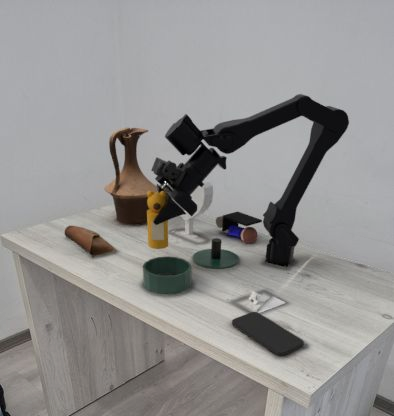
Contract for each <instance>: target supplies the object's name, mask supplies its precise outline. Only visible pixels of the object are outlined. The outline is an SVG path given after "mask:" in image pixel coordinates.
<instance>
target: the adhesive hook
mask: <svg viewBox="0 0 394 416" xmlns="http://www.w3.org/2000/svg"><path fill="white" fill-rule="evenodd" d="M249 295H250V296H249V297H248V301H250V302H251V301H253V302H252V304H253V305H257V304H258V303H259V302H260V300H261V299H260V298H261V297H262V295H261V294H259V293H258V292H256V291H254V290H251V293H250V294H249ZM284 304H286V302H285V301H283V300H282V299H280V298H277V297H276V296H275V295H273V294H272V295H271V296H269V298H267V299H266V300H265V301H264V302H263V303H262V305H260V306H259V307H258V308H257V309H256V312H257V313H259V314H261V313H264V312H265V311H268V310H271V309H274V308H277V307H279V306H281V305H284Z"/></svg>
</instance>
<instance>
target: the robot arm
mask: <svg viewBox="0 0 394 416" xmlns="http://www.w3.org/2000/svg"><path fill="white" fill-rule="evenodd" d="M300 117H303V118H305V119H307V120H309V121H310V122H313V123H312V125H311V129H310V135H309V142H308V144H307V146H306V149H305V150H304V153H303V154H302V156H301V158H300V160H299V162H298V164H297V165H296V168H295V170H294V172H293V174H292V176H291V178H290V179H289V182H288V183H287V186H286V187H285V189H284V191H283V193H282V195H281V197H280V198H279V200H277V201H276V202H275V203H274V202H273V201H269V203H268V206H267V209H266V211H265V212H264V213H263V214H262V217H263V219H262V224H263V227H264V229H265V230H266V231H267V233H268V235H269V236H270V237H271V238H269V240H268V243H267V244H266V252H265V260H264V263H266V264H270V265H274V266H278V267H281V268H288V267H289V266H290V265H291V264H292V263H293V262H294V261H295V260H296V259H295V258H294V253H295V247H296V246H297V244H298V243H299V240H300V238H299V237H298V236H297V234H296V233H294V232H293V227H294V224H295V221H296V215H297V208H298V206H299V203H300V202H301V200H302V198H303V196H305V195H304V194H305V193H306V192H307V189H308V187H309V185H310V184H311V182H312V180H313V178H314V176H315V174H316V172H317V170H318V169H319V167H320V165H321V163H322V162H323V159H324V157H325V155H326V153H327V152H329V150H330V149H332V148H333V147H334V146H335V145H336V144H337V143H338V142H339V141H340V139H341V138H342V137H343V136H344V134H345V133H346V131H347V129H348V127H349V125H350V120H349V115H348V113H347V112H346V111H345V110H344V109H340V108H337V107H335V106H331V105H323V104H321V103H320V102H318V101H316V100H314V99H312V98H311V97H310V96H309V95H306V94H302V93H299V94H296V95H295V96H293V97H291V98H289V99H287V100H285V101H283V102H280V103H278V104H276V105H273V106H271V107H269V108H266V109H264V110H261V111H259V112H258V113H255V114H253V115H251V116H248V117H244V118H236V119H231V120H226V121H223V122H219V123H217V124H216V125H215V126H214V127H212V128H207V129H202V130H201V129H199V128H198V126H197V125H196V124H195V123H194V122H193V120H192V118H191V117H190V116H189V115H188V114H187V113H185V114H184V115H183V116H182V117H181V118H179V119H178V120H177V121H176V122H174V123H173V124H172V125H171V126H170V127H169V128H168V129H167V131H166V133H165V135H164V138H165V139H166V140H167V141H168V142H169V143H170V144H171V145H172V146H173V148H174V149H175V150H176V151H178V153H179V154H181V156H185V155H187V156H190V157H189V158H188V160H187V161H186V162H185V163H184V162H180V163H179V164H178V165H177V163H175V162H173V161H171V160H167V161H166V160H164V159H162V158H160V157H155V160H154V162H153V165H152V168H151V170H150V171H151V172H153V174H154V175H156V177H155V178H154V179H155V181H156V182H157V183H156V186H157V190H158V191H157V192H158V193H160V192H161V191H165V192H166V197H165V198H166V202H165V204H164V206H163V207H162V209H161V210H160V212H159V213H158V215H157V216H156V218H155V219H154V221H153V223H154V224H155V225H158V224H160V223H162V222H165V221H167V220H168V221H170V220H172V219H174V218H177V217H179V216H180V217H181V215H183V214H184V215H185V214H186V213H185V211H186V212H187V213H188V214H189V215H190V216H191V217H192V216H193V215H194V214H195V213H196V211H197V204H196V203H195V202H194V201H193V200H192V199H191V198H192V197H191V196H190V195H191V194H192V193H193V192H194V191H195V189H196V188H197V187H198V186H200V187H202V186H203V185H204V183H203V180H204V179H205V178H206V179H207V177H208V176H209V175H210V173H212V171H213V170H214V169H215V168H216V167H217V166H218V167H219V168H221V169H223V170H227V156H225V155H220V153H222V154H226V155H229V154H232V153H235V152H236V151H237V150H240V149H241V148H243V147H244V146H245V145H246V144H247V143H248V142H250V141H251V140H252V139H253V138H255V137H257V136H258V135H261V134H263V133H265V132H268V131H270V130H272V129H274V128H275V129H276V128H278V127H280V126H282V125H284V124H287V123H288V122H292V121H293V120H295V119H298V118H300ZM203 141H204V142H205V143H206V144H207V146H210V147H209V148H208V147H207V146H206V145H205V144H204V142H203ZM215 148H217V150H218V151H220V153H218V151H216V149H215Z"/></svg>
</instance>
